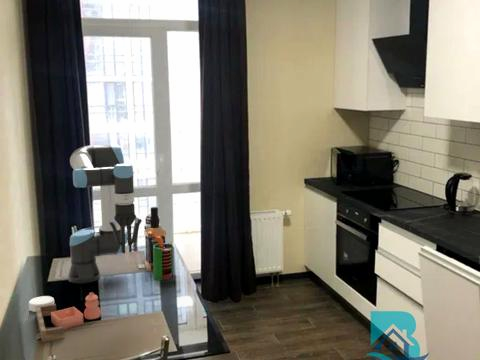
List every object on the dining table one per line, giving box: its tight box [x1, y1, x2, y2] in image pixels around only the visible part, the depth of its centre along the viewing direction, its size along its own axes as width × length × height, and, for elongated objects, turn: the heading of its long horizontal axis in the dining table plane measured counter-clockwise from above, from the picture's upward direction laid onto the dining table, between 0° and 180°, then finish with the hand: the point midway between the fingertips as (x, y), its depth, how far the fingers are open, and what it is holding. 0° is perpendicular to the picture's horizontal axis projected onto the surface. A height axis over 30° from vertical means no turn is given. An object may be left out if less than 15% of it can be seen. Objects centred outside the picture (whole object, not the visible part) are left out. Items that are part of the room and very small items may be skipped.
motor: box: [153, 236, 174, 281], centre depth 253 cm, size 10×9×20 cm
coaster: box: [28, 295, 55, 313], centre depth 217 cm, size 10×10×4 cm
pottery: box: [50, 291, 102, 330], centre depth 203 cm, size 18×10×10 cm, turn 129°
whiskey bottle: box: [144, 206, 167, 273], centre depth 266 cm, size 10×10×32 cm
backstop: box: [35, 303, 65, 343], centre depth 198 cm, size 26×8×4 cm, turn 25°
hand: (127, 260), depth 210 cm, fingers closed
